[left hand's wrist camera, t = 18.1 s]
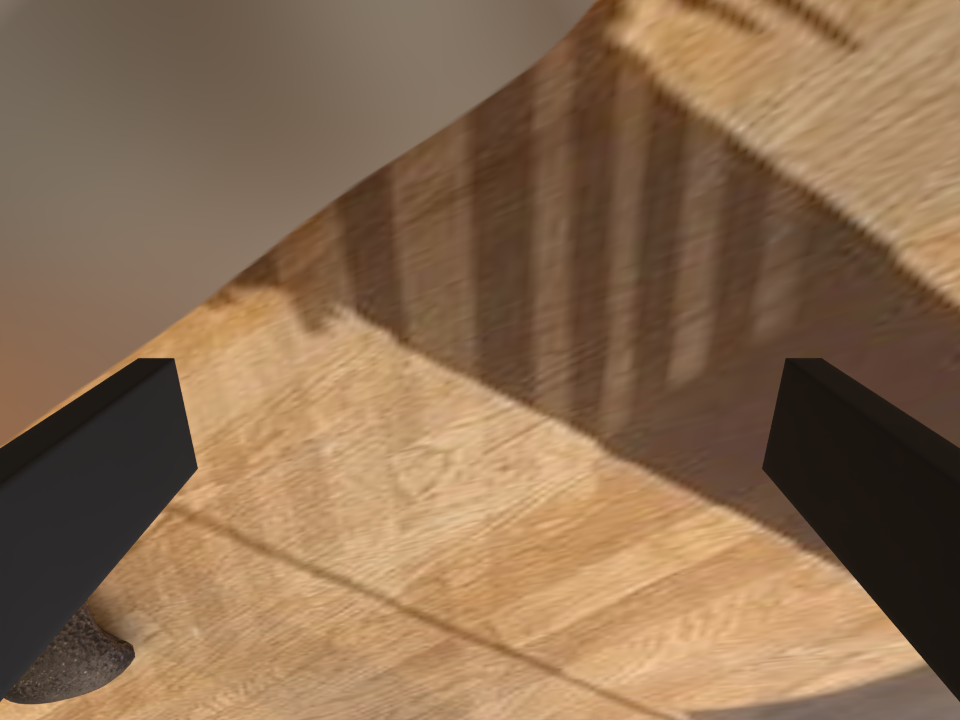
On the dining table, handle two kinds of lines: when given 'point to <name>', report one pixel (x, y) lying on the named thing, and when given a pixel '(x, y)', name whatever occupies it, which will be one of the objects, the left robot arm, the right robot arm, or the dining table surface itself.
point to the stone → (73, 663)
